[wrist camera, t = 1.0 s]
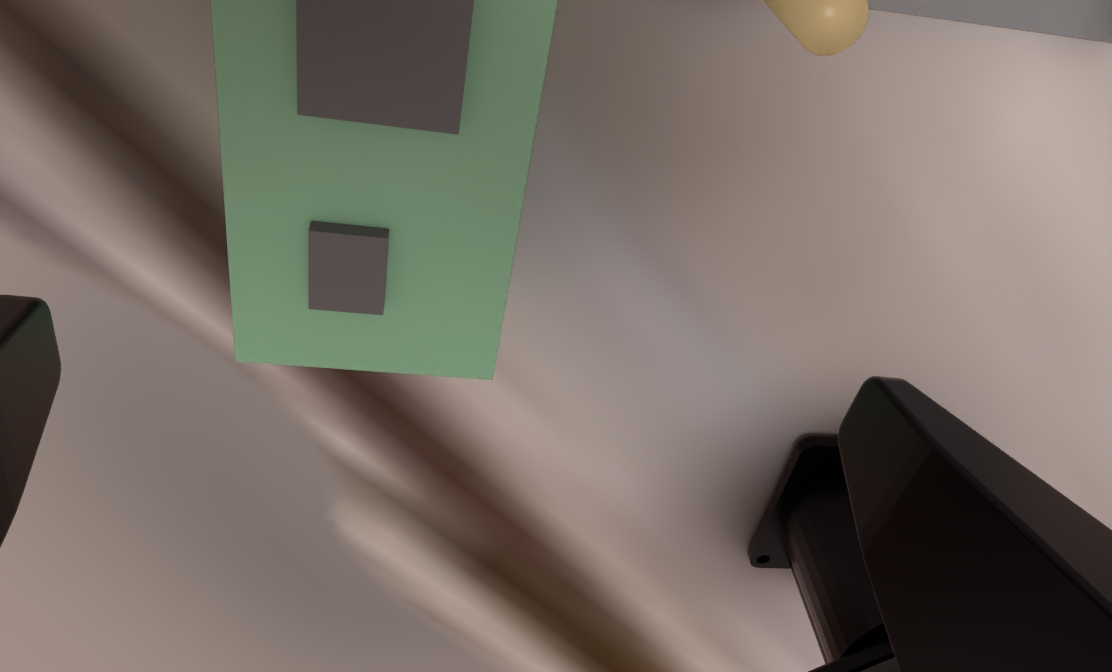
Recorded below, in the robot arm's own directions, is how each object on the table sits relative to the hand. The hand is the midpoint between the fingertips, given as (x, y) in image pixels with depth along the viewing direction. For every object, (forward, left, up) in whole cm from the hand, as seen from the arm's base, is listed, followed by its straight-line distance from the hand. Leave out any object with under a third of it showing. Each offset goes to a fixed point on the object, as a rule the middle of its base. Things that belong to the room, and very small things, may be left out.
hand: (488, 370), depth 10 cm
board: (-2, +2, -12) cm, 13 cm away
